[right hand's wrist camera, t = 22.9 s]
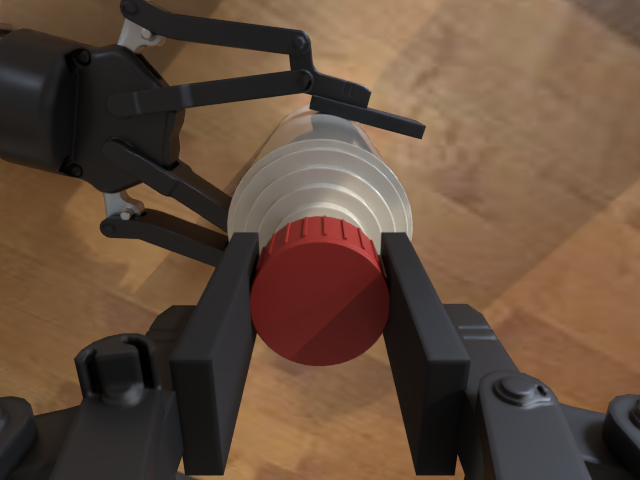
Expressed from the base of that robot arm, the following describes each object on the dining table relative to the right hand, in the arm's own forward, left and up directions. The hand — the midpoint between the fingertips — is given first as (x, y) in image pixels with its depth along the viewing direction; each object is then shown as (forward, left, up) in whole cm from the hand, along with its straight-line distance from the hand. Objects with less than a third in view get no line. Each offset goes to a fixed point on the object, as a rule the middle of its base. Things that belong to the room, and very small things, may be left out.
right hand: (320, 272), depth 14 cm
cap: (0, 0, +2) cm, 2 cm away
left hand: (-3, +4, -14) cm, 15 cm away
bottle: (0, 0, -20) cm, 20 cm away
